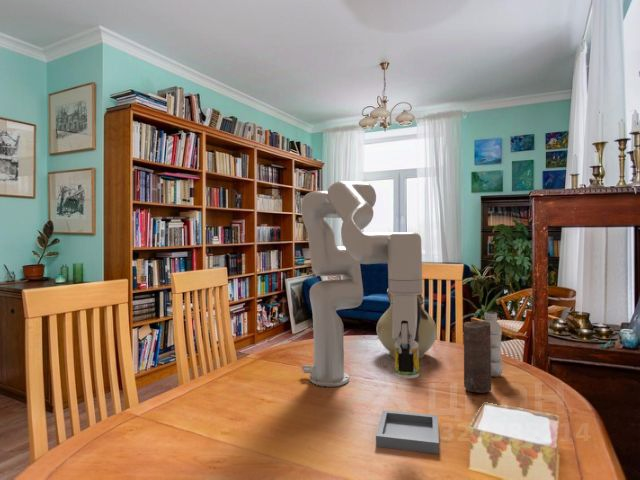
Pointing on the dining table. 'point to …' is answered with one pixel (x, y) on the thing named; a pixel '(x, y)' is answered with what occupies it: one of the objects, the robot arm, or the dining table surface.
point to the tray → (408, 431)
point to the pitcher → (424, 330)
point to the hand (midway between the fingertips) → (407, 366)
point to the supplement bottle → (416, 360)
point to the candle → (477, 356)
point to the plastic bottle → (495, 343)
